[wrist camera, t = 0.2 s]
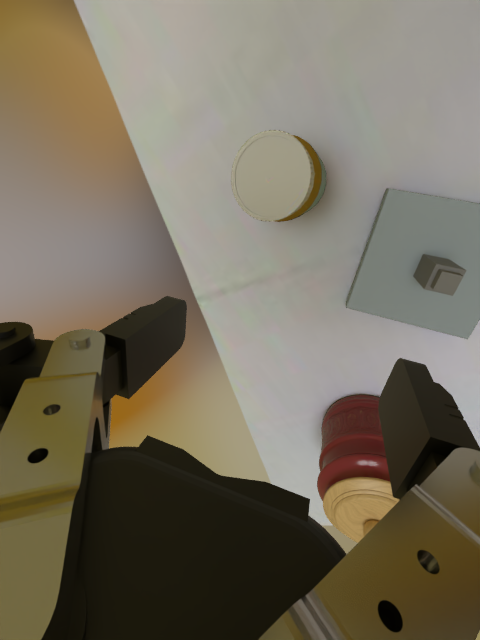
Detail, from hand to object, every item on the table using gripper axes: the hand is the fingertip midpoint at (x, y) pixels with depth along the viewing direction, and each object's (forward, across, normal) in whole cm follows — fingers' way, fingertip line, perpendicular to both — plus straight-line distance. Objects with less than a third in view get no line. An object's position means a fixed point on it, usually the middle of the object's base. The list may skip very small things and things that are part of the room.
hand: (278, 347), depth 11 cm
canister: (+29, -14, +27) cm, 42 cm away
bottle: (+29, +4, -6) cm, 30 cm away
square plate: (+29, -12, +1) cm, 31 cm away
